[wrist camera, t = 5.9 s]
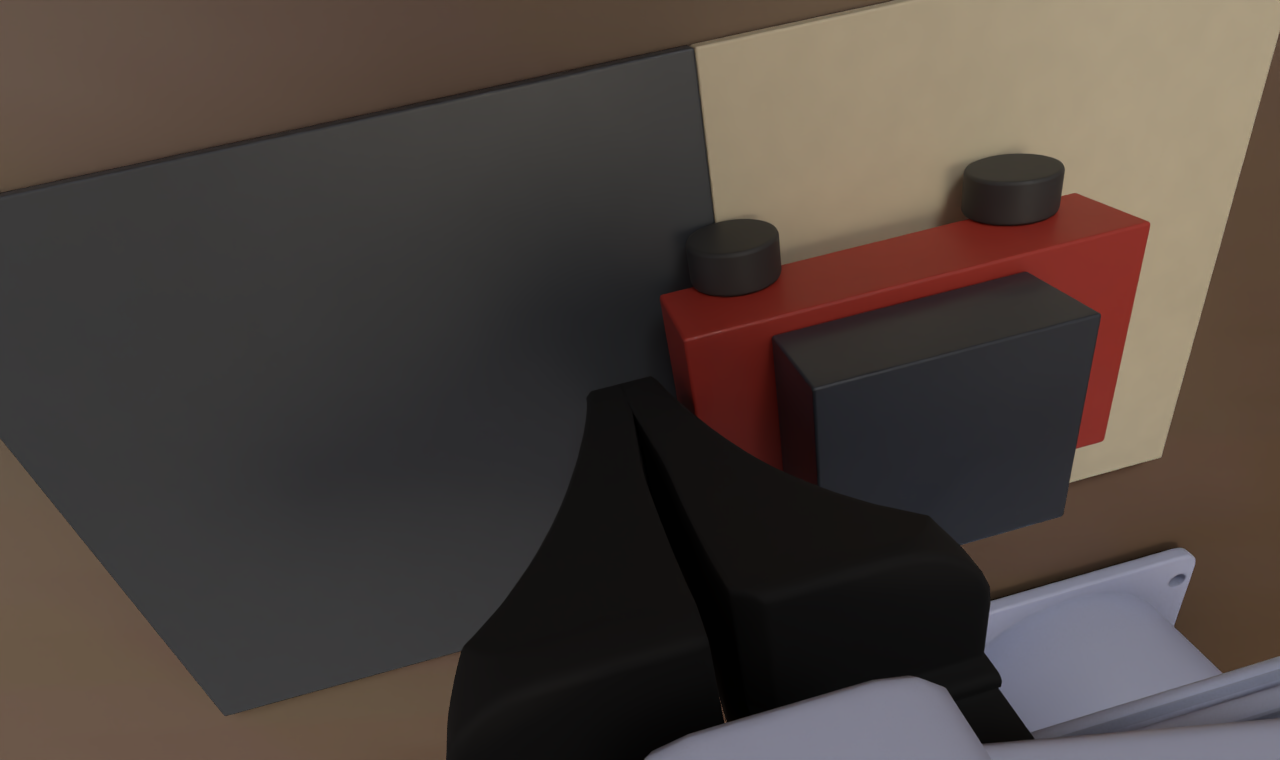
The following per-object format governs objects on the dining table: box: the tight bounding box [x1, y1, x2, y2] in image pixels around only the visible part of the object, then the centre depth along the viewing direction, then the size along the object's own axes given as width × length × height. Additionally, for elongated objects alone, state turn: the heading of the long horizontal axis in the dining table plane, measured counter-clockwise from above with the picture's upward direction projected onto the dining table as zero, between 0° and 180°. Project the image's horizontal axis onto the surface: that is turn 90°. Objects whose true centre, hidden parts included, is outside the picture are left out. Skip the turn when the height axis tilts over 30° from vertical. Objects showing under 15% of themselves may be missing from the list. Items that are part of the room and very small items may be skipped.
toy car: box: [660, 153, 1150, 545], centre depth 13 cm, size 6×8×4 cm
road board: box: [0, 0, 1280, 716], centre depth 15 cm, size 12×24×1 cm, turn 100°
